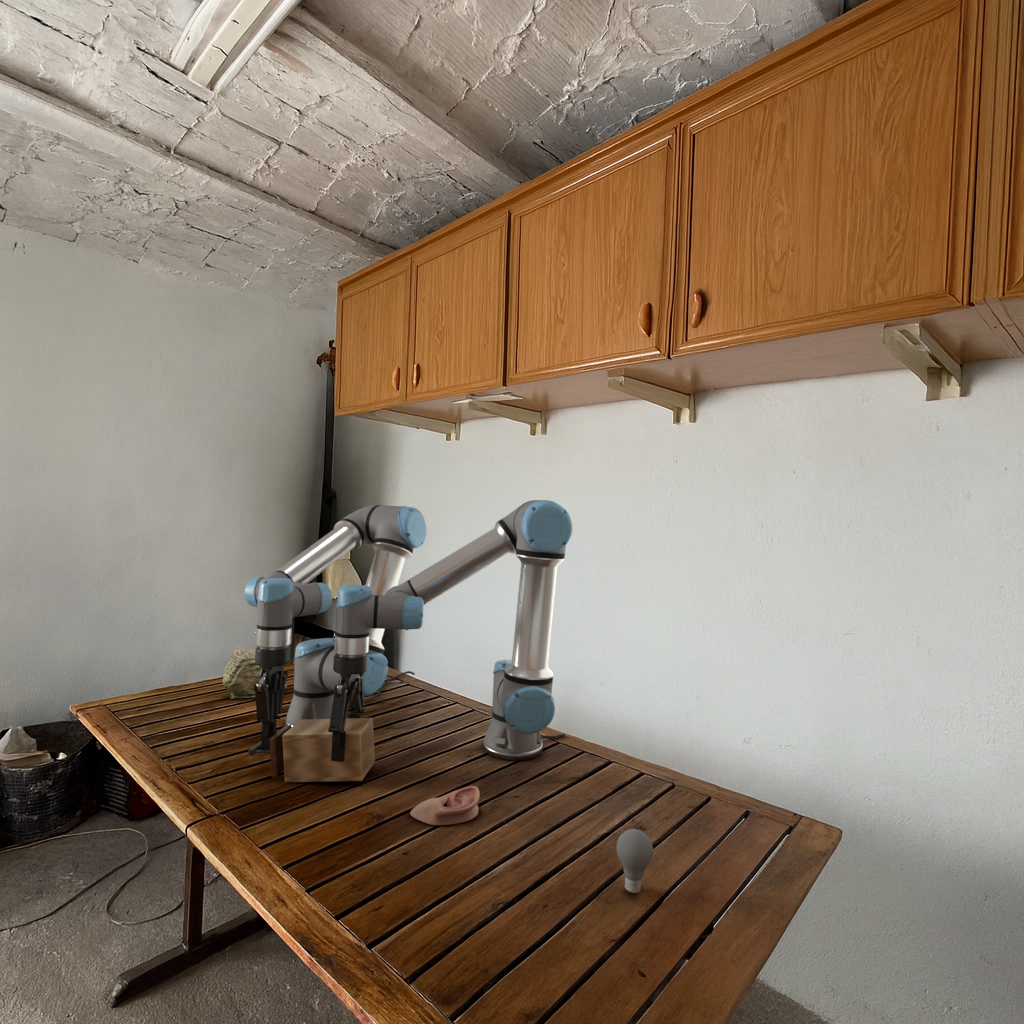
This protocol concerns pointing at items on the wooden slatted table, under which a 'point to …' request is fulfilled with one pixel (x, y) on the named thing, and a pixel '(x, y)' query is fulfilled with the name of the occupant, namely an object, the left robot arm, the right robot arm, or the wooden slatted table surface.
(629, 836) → the light bulb
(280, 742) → the drawer
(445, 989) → the wooden slatted table surface
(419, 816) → the anatomical model
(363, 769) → the cabinet
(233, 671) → the fossil
